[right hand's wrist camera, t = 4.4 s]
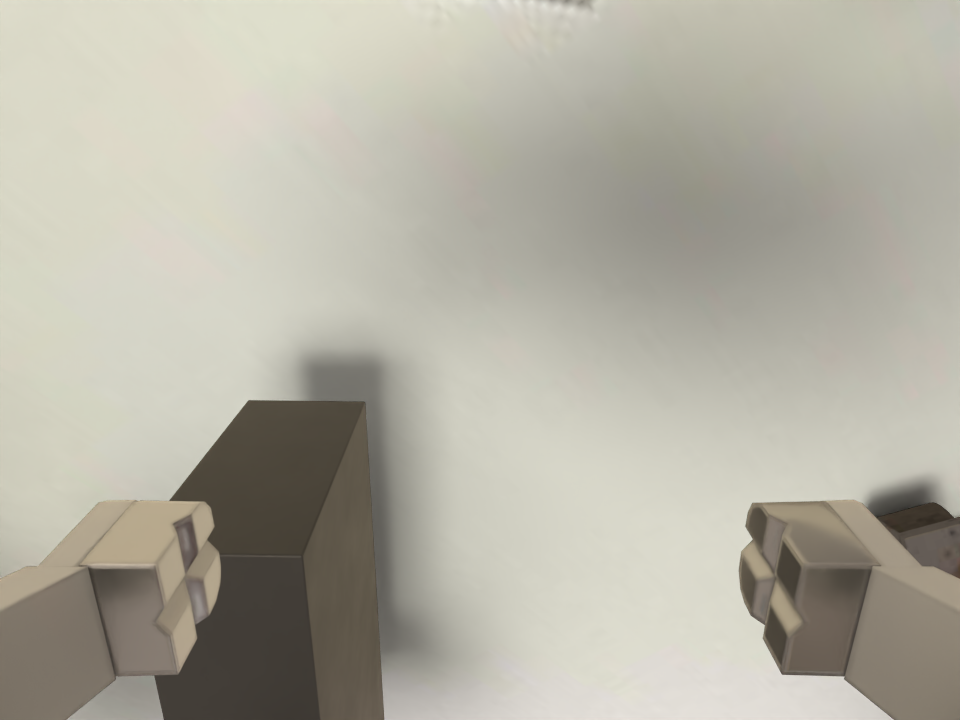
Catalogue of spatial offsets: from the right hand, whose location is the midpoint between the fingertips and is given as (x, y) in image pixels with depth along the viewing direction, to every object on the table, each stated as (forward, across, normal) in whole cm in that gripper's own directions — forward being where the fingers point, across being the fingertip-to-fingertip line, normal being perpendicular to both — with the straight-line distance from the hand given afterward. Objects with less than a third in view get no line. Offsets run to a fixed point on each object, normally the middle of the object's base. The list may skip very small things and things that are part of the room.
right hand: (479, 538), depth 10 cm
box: (+23, -9, -20) cm, 32 cm away
